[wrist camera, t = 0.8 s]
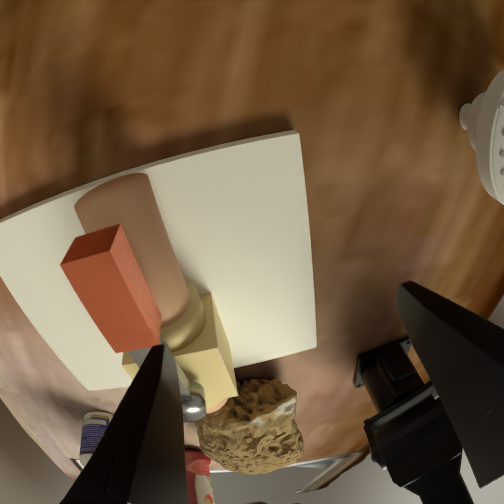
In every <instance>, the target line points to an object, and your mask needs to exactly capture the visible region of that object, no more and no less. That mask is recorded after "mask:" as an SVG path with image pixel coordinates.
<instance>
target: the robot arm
mask: <svg viewBox="0 0 504 504" xmlns="http://www.w3.org/2000/svg"><path fill="white" fill-rule="evenodd" d="M396 308H397V311H398V313H399V315H400V318H401V320H402V322H403V324H404V327H405V329H406V331H407V334H408V336H409V337H407V338H404V339H401V340H399V341H396V342H394V343H391V344H389V345H386V346H383V347H381V348H378V349H375V350H372V351H370V352H367V353H364V354H362V355H360V356H359V357H358V363H357V369H356V376H355V382H354V386H355V388H359V387H362V386H364V385H365V387H366V389H367V391H368V393H369V395H370V397H371V399H372V402H373V404H374V406H375V408H376V410H377V412H378V414H377V415H375V416H373V417H371V418H370V419H369V418H368V419H366V420H364V424H365V426H364V430H365V432H366V434H367V438H368V441H369V446H370V453H371V458H372V461H373V462H376V463H378V464H379V465H380V466H381V468H382V469H383V470H388V472H389V474H390V476H391V478H392V481H393V482H394V483H395V484H397V485H398V486H400V487H404V488H406V489H407V490H410V491H411V492H413V493H415V494H416V495H418V496H419V497H420V499H421V501H422V503H423V504H474V503H473V500H472V498H471V495H470V493H469V491H468V489H467V486H466V484H465V482H464V480H463V478H462V476H461V473H460V466H461V459H462V450H463V449H464V451H465V454H466V456H467V458H468V461H469V463H470V466H471V468H472V471H473V473H474V476H475V478H476V480H477V483H478V486H479V488H480V489H481V488H483V487H484V486H486V485H488V484H490V483H492V482H493V481H495V480H497V479H499V478H500V477H502V476H503V475H504V329H503V328H501V327H500V326H498V325H495V324H494V323H492V322H490V321H488V320H487V319H485V318H483V317H481V316H479V315H477V314H475V313H473V312H472V311H470V310H468V309H466V308H464V307H462V306H460V305H458V304H456V303H454V302H452V301H450V300H449V299H447V298H445V297H443V296H441V295H439V294H437V293H435V292H433V291H431V290H429V289H427V288H425V287H423V286H421V285H419V284H417V283H415V282H413V281H406V282H403V283H400V284H399V286H398V291H397V296H396ZM411 343H412V345H413V347H414V349H415V351H416V353H417V355H418V357H419V358H420V360H421V362H422V364H423V366H424V368H425V370H426V372H427V373H428V375H429V377H430V379H431V380H430V381H429V382H427V383H426V384H424V383H423V381H422V379H421V378H420V376H419V374H418V373H417V371H416V369H415V367H414V365H413V364H412V362H411V360H410V359H409V357H408V356H407V355H408V352H409V349H410V346H411ZM436 396H439V398H437V399H436V400H435V399H434V398H435V397H436ZM59 504H189V501H188V489H187V477H186V463H185V446H184V426H183V407H182V400H181V394H180V387H179V380H178V373H177V366H176V362H175V359H174V357H173V356H172V354H171V352H170V350H169V348H168V347H167V345H166V344H158V345H154V346H152V347H151V349H150V351H149V352H148V354H147V356H146V358H145V359H144V361H143V363H142V365H141V366H140V368H139V370H138V372H137V373H136V375H135V377H134V379H133V381H132V382H131V384H130V386H129V388H128V390H127V391H126V393H125V395H124V397H123V399H122V400H121V402H120V404H119V406H118V408H117V410H116V411H115V413H114V415H113V417H112V419H111V421H110V422H109V424H108V426H107V428H106V430H105V432H104V436H102V437H101V439H100V441H99V443H98V445H97V447H96V448H95V450H94V452H93V454H92V456H91V457H90V459H89V461H88V462H87V464H86V465H85V467H84V469H83V470H82V472H81V473H80V475H79V476H78V478H77V479H76V481H75V482H74V484H73V485H72V487H71V488H70V490H69V491H68V493H67V494H66V496H65V497H64V499H63V500H62V501H61V502H60V503H59Z"/></svg>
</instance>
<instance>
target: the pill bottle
mask: <svg viewBox="0 0 504 504" xmlns="http://www.w3.org/2000/svg"><path fill="white" fill-rule="evenodd" d="M112 417H113V415H112V414H110V413H106V412H99V411H93V412H89V413H87V414H85V416H84V420H83V428H82V436H81V447H80V463H81V464H82V465H83V466H84V467H85V465H86V464H87V462H88V461H89V459H90V457H91V456H92V454H93V452H94V450H95V448H96V447H97V445H98V443H99V441H100V439H101V437H102V436H104V432H105V430H106V428H107V426H108V424H109V422H110V421H111V419H112Z"/></svg>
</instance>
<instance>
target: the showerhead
mask: <svg viewBox="0 0 504 504" xmlns="http://www.w3.org/2000/svg"><path fill="white" fill-rule="evenodd" d="M459 121H460V124H461V126H462V128H463V129H465V130H467V134H468V138H469V141H470V144H471V146H472V147H473V149H474V150H475V151H476V161H477V168H478V173H479V176H480V179H481V182H482V184H483V186H484V188H485V189H486V191H487V192H488V193H489V194H490V195H491V196H492V197H494V198H495V199H496V200H498V201H499V202H500V203H502V204H503V205H504V70H502V71H501V72H499V73H498V74H497V75H496V76H495V77H494V79H493V80H492V82H491V83H490V85H489V87H488V89H487V90H486V92H484V93H481V94H479V95H478V96H477V97H476V98H475V99H474V101H473V102H472V104H469V103H466V104H464V105H463V106H462V108H461V110H460V113H459Z"/></svg>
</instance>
